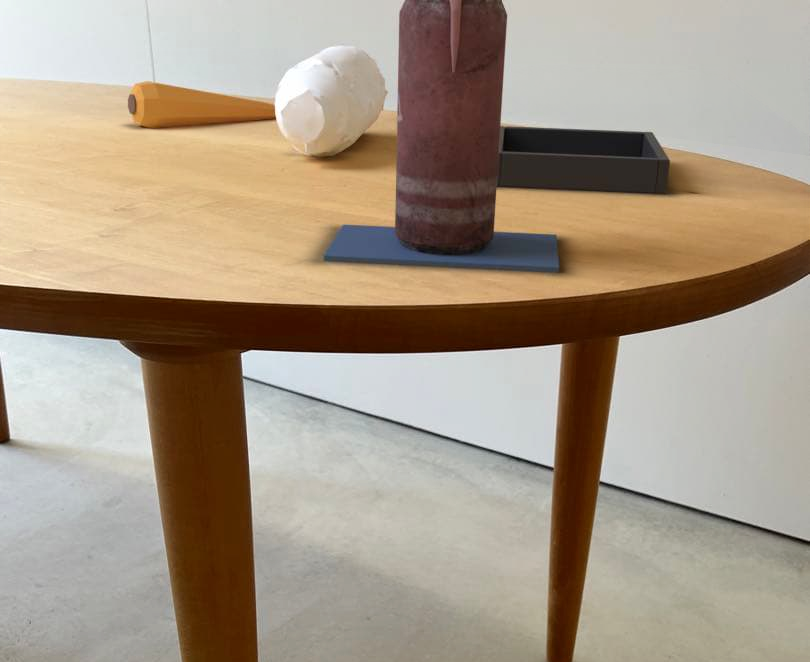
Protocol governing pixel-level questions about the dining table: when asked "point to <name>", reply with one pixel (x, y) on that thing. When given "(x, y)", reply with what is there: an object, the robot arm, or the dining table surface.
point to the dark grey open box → (581, 160)
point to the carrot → (190, 106)
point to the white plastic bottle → (329, 100)
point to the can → (448, 123)
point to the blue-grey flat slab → (498, 255)
